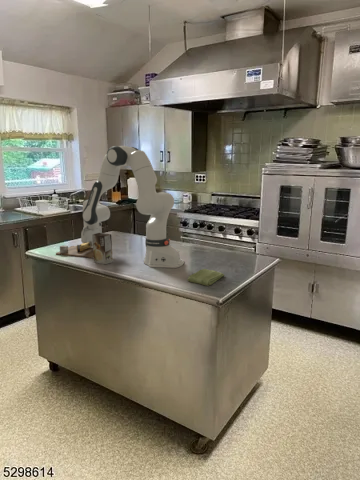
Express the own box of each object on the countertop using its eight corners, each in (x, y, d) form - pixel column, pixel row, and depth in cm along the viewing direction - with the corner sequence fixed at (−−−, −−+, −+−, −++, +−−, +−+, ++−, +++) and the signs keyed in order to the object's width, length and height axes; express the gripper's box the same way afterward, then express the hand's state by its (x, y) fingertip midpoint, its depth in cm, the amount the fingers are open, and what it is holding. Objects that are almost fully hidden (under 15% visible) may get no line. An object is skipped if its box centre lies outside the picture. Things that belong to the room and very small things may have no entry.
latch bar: (80, 252, 217) (80, 245, 216) (76, 251, 218) (76, 245, 217) (93, 246, 230) (93, 240, 229) (89, 246, 231) (89, 239, 230)
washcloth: (225, 277, 180) (225, 270, 179) (209, 287, 166) (209, 281, 165) (202, 272, 187) (202, 266, 186) (185, 282, 172) (185, 276, 172)
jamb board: (105, 250, 226) (105, 242, 224) (91, 258, 209) (91, 249, 208) (72, 247, 232) (71, 239, 231) (55, 254, 215) (55, 246, 214)
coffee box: (113, 261, 202) (112, 234, 198) (106, 264, 197) (104, 236, 193) (100, 259, 206) (99, 232, 202) (93, 262, 201) (91, 234, 197)
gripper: (87, 228, 212) (88, 251, 216) (103, 222, 232) (104, 243, 235) (77, 228, 214) (79, 250, 217) (94, 222, 233) (95, 242, 236)
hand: (92, 246), depth 226 cm, fingers closed
